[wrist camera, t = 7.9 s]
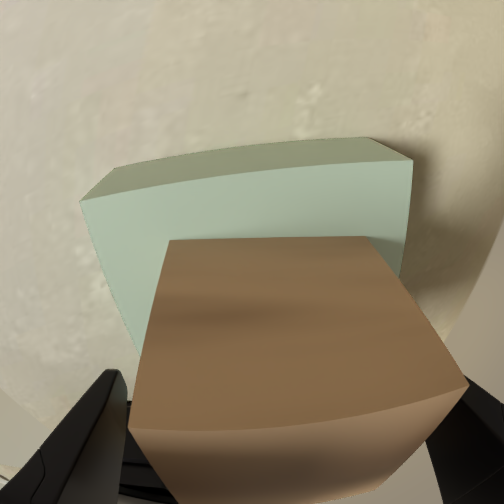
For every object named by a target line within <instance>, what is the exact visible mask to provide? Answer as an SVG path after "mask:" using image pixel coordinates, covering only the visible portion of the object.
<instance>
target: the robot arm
mask: <svg viewBox="0 0 504 504" xmlns="http://www.w3.org/2000/svg"><path fill="white" fill-rule="evenodd" d="M464 377H465V378H466V380H467V382H468V383H469V387H468V388H467V390H466V391H465V392H464V394H463V395H462V396H461V398H460V399H459V400H458V402H457V403H456V404H455V406H454V407H453V408H452V409H451V411H450V412H449V413H448V414H447V416H446V417H445V418H444V419H443V421H442V422H441V423H440V424H439V425H438V426H437V428H436V429H435V430H434V431H433V432H432V433H431V435H430V436H429V437H428V438H427V439H426V440H425V442H426V445H427V448H428V452H429V455H430V458H431V461H432V464H433V468H434V471H435V475H436V478H437V482H438V485H439V488H440V493H441V496H442V500H443V504H504V404H503V403H500V401H499V400H497V399H496V398H495V397H493V396H492V395H490V394H489V393H488V392H487V391H485V390H484V389H483V388H481V387H480V386H478V385H477V384H476V383H474V382H473V381H471V380H470V379H469V378H467V377H466V376H465V375H464ZM127 393H128V392H127V386H126V383H125V381H124V379H123V376H122V374H121V372H120V371H119V370H118V369H106V370H105V371H104V372H103V373H102V374H101V375H100V376H99V377H98V379H97V380H96V381H95V382H94V383H93V384H92V386H91V387H90V388H89V389H88V390H87V391H86V393H85V394H84V395H83V396H82V397H81V398H80V400H79V401H78V402H77V403H76V404H75V405H74V407H73V408H72V409H71V410H70V411H69V413H68V414H67V415H66V416H65V417H64V419H63V420H62V421H61V422H60V423H59V424H58V426H57V427H56V428H55V429H54V431H53V432H52V433H51V434H50V435H49V437H48V438H47V439H46V440H45V441H44V443H43V444H42V445H41V446H40V449H38V450H37V451H36V452H35V454H34V455H33V456H32V457H31V458H30V460H29V461H28V462H27V463H26V464H25V465H24V467H23V468H22V469H21V470H20V471H19V472H18V473H17V474H16V475H15V476H14V477H13V478H12V479H11V480H10V481H9V482H8V483H7V484H6V485H5V486H4V487H3V488H2V489H1V490H0V504H179V503H178V502H177V500H176V499H175V498H174V497H173V495H172V494H171V493H170V491H169V490H168V488H167V487H166V486H165V484H164V483H163V482H162V480H161V479H160V477H159V476H158V474H157V473H156V471H155V470H154V469H153V467H152V466H151V464H150V463H149V461H148V460H147V458H146V457H145V455H144V453H143V452H142V450H141V449H140V447H139V446H138V444H137V442H136V441H135V439H134V437H133V436H132V434H131V432H130V431H129V429H128V422H129V416H130V410H131V404H132V403H127Z"/></svg>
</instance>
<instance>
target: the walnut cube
mask: <svg viewBox="0 0 504 504" xmlns="http://www.w3.org/2000/svg"><path fill="white" fill-rule="evenodd" d="M468 387H469V383H468V382H467V380H466V378H465V377H464V375H463V373H462V372H461V370H460V368H459V367H458V365H457V364H456V362H455V360H454V359H453V357H452V356H451V354H450V352H449V351H448V349H447V348H446V346H445V345H444V343H443V342H442V340H441V339H440V337H439V336H438V334H437V333H436V331H435V330H434V328H433V327H432V325H431V324H430V322H429V321H428V319H427V318H426V316H425V315H424V314H423V312H422V311H421V309H420V308H419V306H418V305H417V304H416V302H415V301H414V299H413V298H412V297H411V295H410V294H409V292H408V291H407V290H406V288H405V287H404V286H403V284H402V283H401V282H400V280H399V279H398V278H397V276H396V275H395V274H394V272H393V271H392V270H391V268H390V267H389V266H388V264H387V263H386V262H385V260H384V259H383V258H382V257H381V255H380V254H379V253H378V251H377V250H376V249H375V248H374V246H373V245H372V244H371V243H370V241H369V240H368V239H367V238H366V236H325V237H270V238H227V239H190V240H169V244H168V247H167V251H166V254H165V258H164V262H163V265H162V269H161V273H160V277H159V280H158V284H157V288H156V292H155V296H154V300H153V304H152V308H151V313H150V317H149V321H148V325H147V330H146V334H145V339H144V343H143V348H142V353H141V357H140V362H139V367H138V372H137V377H136V383H135V388H134V393H133V399H132V404H131V410H130V416H129V422H128V429H129V431H130V432H131V434H132V436H133V437H134V439H135V441H136V442H137V444H138V446H139V447H140V449H141V450H142V452H143V453H144V455H145V457H146V458H147V460H148V461H149V463H150V464H151V466H152V467H153V469H154V470H155V471H156V473H157V474H158V476H159V477H160V479H161V480H162V482H163V483H164V484H165V486H166V487H167V488H168V490H169V491H170V493H171V494H172V495H173V497H174V498H175V499H176V500H177V502H178V503H179V504H315V503H321V502H326V501H331V500H336V499H341V498H345V497H350V496H354V495H358V494H362V493H366V492H369V491H373V490H375V489H376V488H378V487H379V486H380V485H381V484H382V483H383V482H384V481H385V480H387V479H388V478H389V477H390V476H391V475H392V474H393V473H394V472H395V471H396V470H397V469H398V468H399V467H400V466H401V465H402V464H403V463H404V462H405V461H406V460H407V459H408V458H409V457H410V456H411V455H412V454H413V453H414V452H415V451H416V450H417V449H418V448H419V447H420V446H421V445H422V443H423V442H424V441H425V440H426V439H427V438H428V437H429V436H430V435H431V433H432V432H433V431H434V430H435V429H436V428H437V426H438V425H439V424H440V423H441V422H442V421H443V419H444V418H445V417H446V416H447V414H448V413H449V412H450V411H451V409H452V408H453V407H454V406H455V404H456V403H457V402H458V400H459V399H460V398H461V396H462V395H463V394H464V392H465V391H466V390H467V388H468Z"/></svg>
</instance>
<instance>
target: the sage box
mask: <svg viewBox="0 0 504 504" xmlns="http://www.w3.org/2000/svg"><path fill="white" fill-rule="evenodd" d="M412 173H413V160H412V159H410V158H408V157H406V156H404V155H402V154H400V153H398V152H396V151H394V150H392V149H390V148H388V147H386V146H384V145H382V144H380V143H378V142H376V141H374V140H372V139H370V138H368V137H358V138H334V139H316V140H302V141H290V142H278V143H268V144H258V145H249V146H241V147H233V148H225V149H218V150H211V151H204V152H197V153H191V154H185V155H179V156H173V157H167V158H162V159H156V160H151V161H146V162H141V163H136V164H131V165H126V166H122V167H117V168H114V169H113V170H112V171H111V172H110V173H109V174H107V175H106V176H105V177H104V178H103V179H102V180H101V181H100V182H99V183H98V184H97V185H96V186H95V187H94V188H92V189H91V190H90V191H89V192H88V193H87V194H86V195H85V196H84V197H83V198H82V199H81V200H80V201H79V202H80V206H81V209H82V212H83V215H84V219H85V222H86V225H87V228H88V231H89V234H90V237H91V240H92V243H93V246H94V248H95V251H96V254H97V257H98V260H99V262H100V265H101V268H102V270H103V273H104V276H105V278H106V281H107V283H108V286H109V288H110V291H111V293H112V296H113V298H114V300H115V303H116V305H117V307H118V310H119V312H120V314H121V317H122V319H123V321H124V324H125V326H126V328H127V330H128V332H129V335H130V337H131V339H132V341H133V343H134V345H135V347H136V349H137V351H138V353H139V355H140V357H141V353H142V348H143V343H144V339H145V334H146V330H147V325H148V321H149V317H150V313H151V308H152V304H153V300H154V296H155V292H156V288H157V284H158V280H159V277H160V273H161V269H162V265H163V262H164V258H165V254H166V251H167V247H168V244H169V240H190V239H227V238H270V237H325V236H366V238H367V239H368V240H369V241H370V243H371V244H372V245H373V246H374V248H375V249H376V250H377V251H378V253H379V254H380V255H381V257H382V258H383V259H384V260H385V262H386V263H387V264H388V266H389V267H390V268H391V270H392V271H393V272H394V274H395V275H396V276H397V278H398V279H399V276H400V271H401V265H402V259H403V253H404V246H405V239H406V232H407V224H408V216H409V207H410V197H411V186H412Z"/></svg>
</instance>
